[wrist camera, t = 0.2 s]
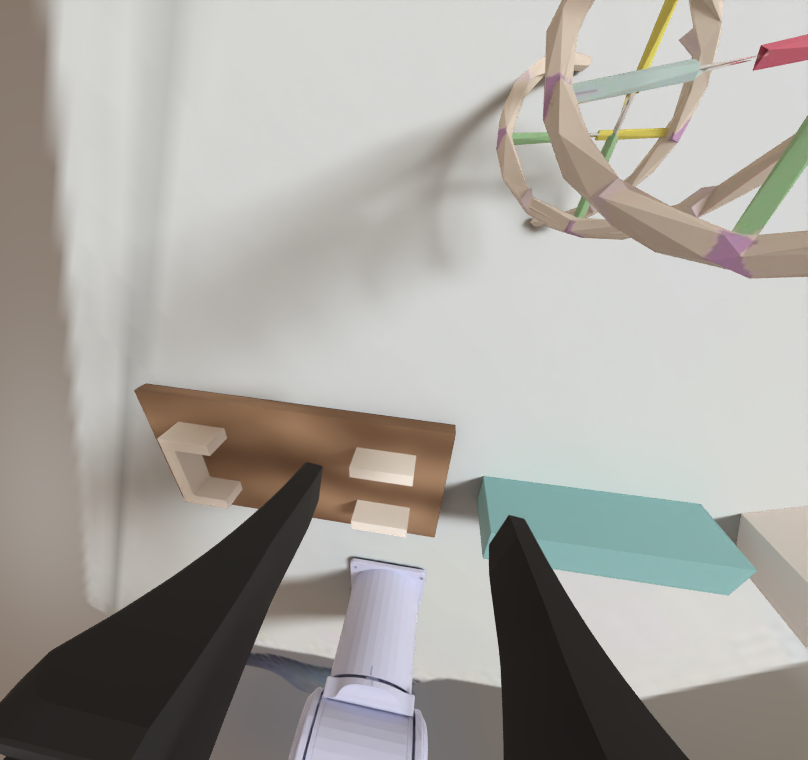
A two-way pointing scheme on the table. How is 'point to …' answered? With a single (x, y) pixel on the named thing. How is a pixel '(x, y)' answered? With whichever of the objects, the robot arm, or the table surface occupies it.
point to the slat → (618, 535)
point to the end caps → (198, 487)
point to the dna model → (655, 151)
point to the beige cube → (780, 561)
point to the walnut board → (309, 450)
